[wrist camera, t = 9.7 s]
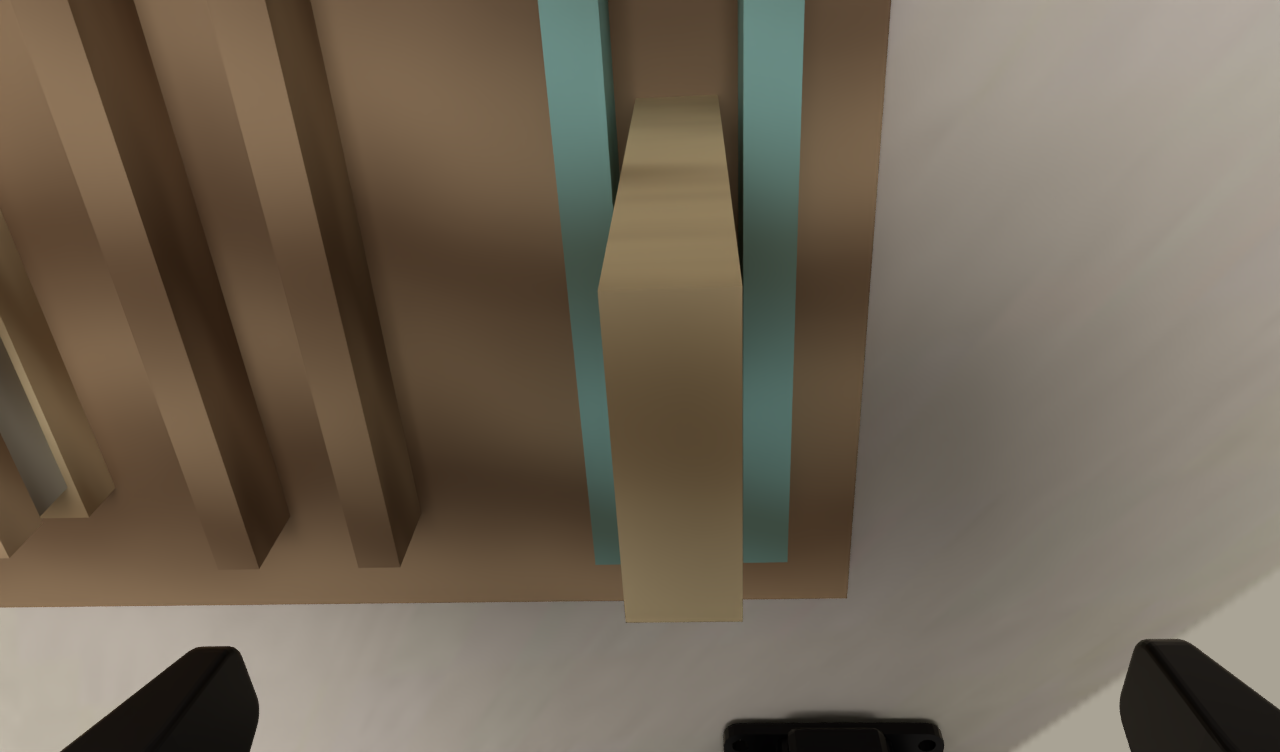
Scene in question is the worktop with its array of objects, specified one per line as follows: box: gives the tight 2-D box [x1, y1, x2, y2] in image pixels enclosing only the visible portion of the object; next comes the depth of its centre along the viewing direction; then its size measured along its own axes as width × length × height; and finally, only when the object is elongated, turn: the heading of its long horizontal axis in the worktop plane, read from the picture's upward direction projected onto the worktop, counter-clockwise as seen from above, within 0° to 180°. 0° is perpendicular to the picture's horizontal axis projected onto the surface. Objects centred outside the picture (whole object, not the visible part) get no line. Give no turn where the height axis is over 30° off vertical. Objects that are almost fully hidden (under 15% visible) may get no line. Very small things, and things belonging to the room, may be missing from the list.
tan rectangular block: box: [598, 95, 743, 623], centre depth 15 cm, size 5×2×9 cm, turn 3°
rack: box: [0, 0, 891, 607], centre depth 20 cm, size 20×24×3 cm
